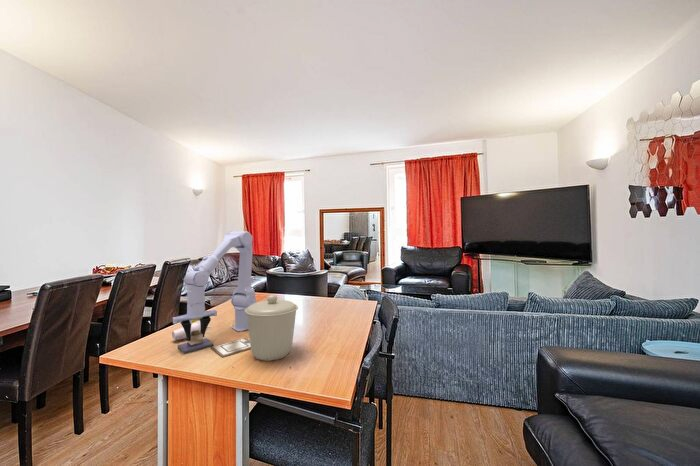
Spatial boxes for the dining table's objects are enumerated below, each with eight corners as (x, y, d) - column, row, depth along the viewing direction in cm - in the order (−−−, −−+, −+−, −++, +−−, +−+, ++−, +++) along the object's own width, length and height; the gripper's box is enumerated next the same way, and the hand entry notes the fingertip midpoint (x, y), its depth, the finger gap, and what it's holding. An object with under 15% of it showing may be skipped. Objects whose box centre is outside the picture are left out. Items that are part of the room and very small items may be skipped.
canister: (232, 362, 90) (233, 298, 91) (263, 342, 108) (264, 288, 108) (281, 369, 86) (282, 302, 86) (306, 347, 103) (306, 291, 103)
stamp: (199, 340, 106) (199, 328, 106) (203, 343, 103) (203, 331, 103) (186, 343, 103) (187, 331, 103) (190, 347, 100) (190, 334, 100)
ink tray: (206, 340, 109) (206, 337, 109) (213, 346, 104) (213, 343, 104) (177, 347, 102) (177, 344, 102) (183, 354, 97) (183, 351, 97)
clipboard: (246, 338, 111) (246, 336, 111) (259, 346, 104) (259, 344, 104) (210, 348, 102) (210, 346, 102) (222, 357, 94) (222, 355, 94)
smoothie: (177, 344, 105) (214, 332, 115) (175, 327, 106) (212, 317, 116) (172, 343, 109) (208, 332, 120) (169, 327, 110) (206, 317, 120)
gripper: (212, 297, 111) (212, 331, 111) (170, 303, 101) (170, 340, 101) (219, 300, 106) (218, 335, 106) (175, 307, 96) (175, 346, 96)
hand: (195, 338), depth 103 cm, fingers closed on stamp, 4 cm apart
